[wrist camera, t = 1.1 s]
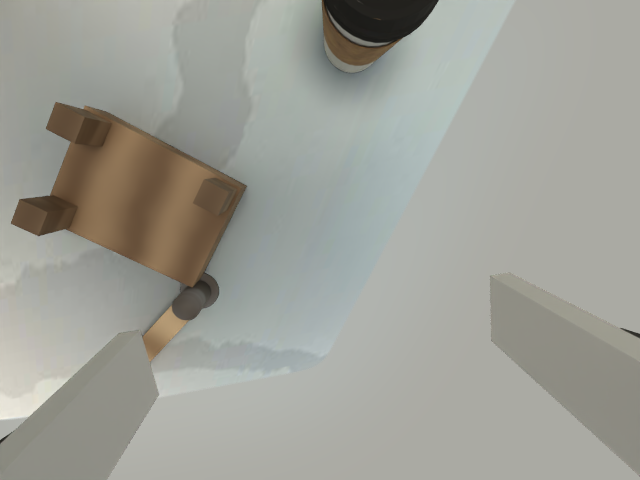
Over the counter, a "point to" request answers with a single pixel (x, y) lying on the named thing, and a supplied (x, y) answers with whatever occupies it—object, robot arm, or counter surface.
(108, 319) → the counter surface
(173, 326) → the hinged leg
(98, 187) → the stool top
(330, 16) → the coffee cup
